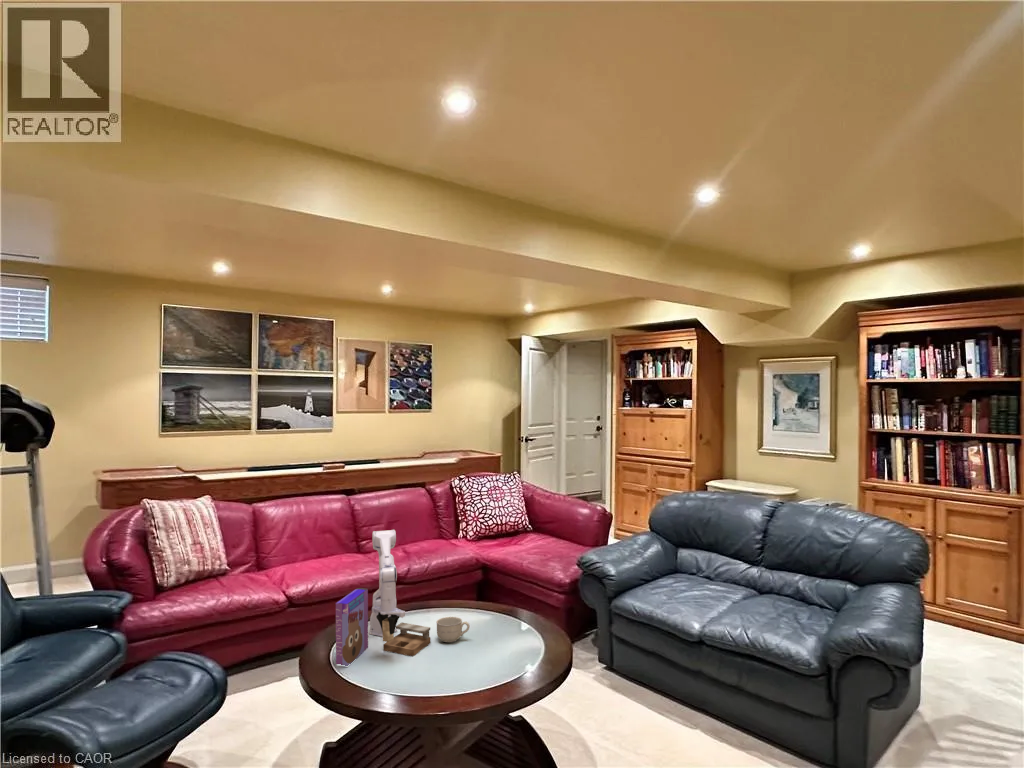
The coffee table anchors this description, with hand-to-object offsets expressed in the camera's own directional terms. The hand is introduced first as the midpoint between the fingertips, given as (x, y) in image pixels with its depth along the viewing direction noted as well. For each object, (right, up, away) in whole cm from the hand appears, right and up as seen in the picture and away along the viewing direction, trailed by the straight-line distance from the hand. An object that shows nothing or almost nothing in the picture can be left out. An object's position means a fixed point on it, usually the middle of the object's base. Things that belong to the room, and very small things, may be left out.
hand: (388, 632), depth 226 cm
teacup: (+24, -10, +14) cm, 30 cm away
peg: (0, -3, 0) cm, 3 cm away
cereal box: (-14, -10, 0) cm, 17 cm away
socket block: (+6, -9, +8) cm, 14 cm away
